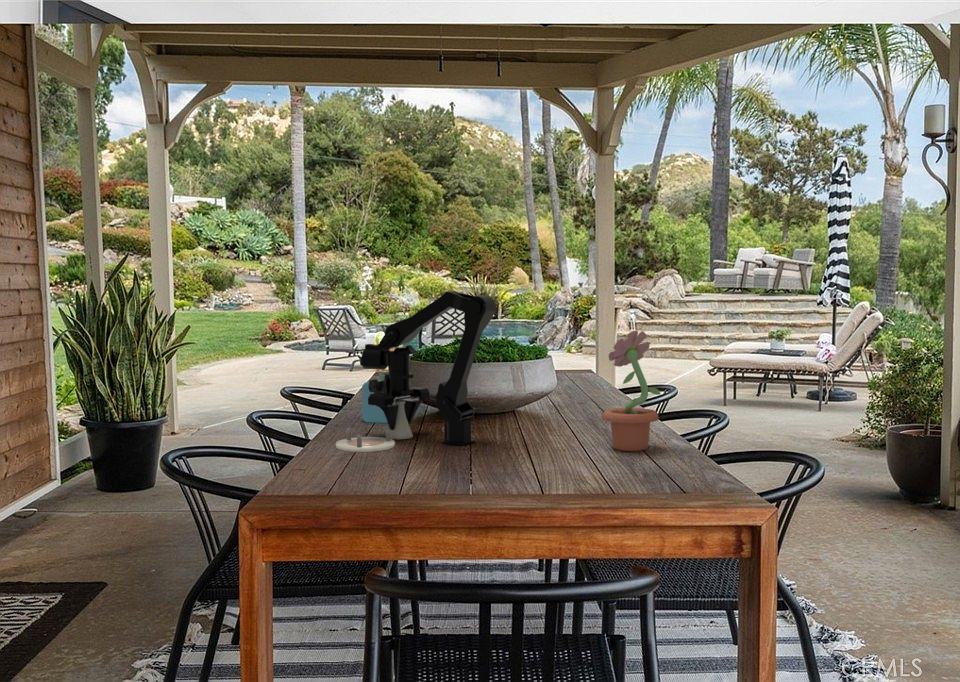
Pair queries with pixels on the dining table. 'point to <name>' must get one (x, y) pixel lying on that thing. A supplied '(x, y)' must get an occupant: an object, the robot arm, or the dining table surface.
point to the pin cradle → (365, 443)
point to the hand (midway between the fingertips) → (399, 428)
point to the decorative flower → (629, 421)
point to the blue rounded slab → (371, 408)
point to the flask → (401, 424)
